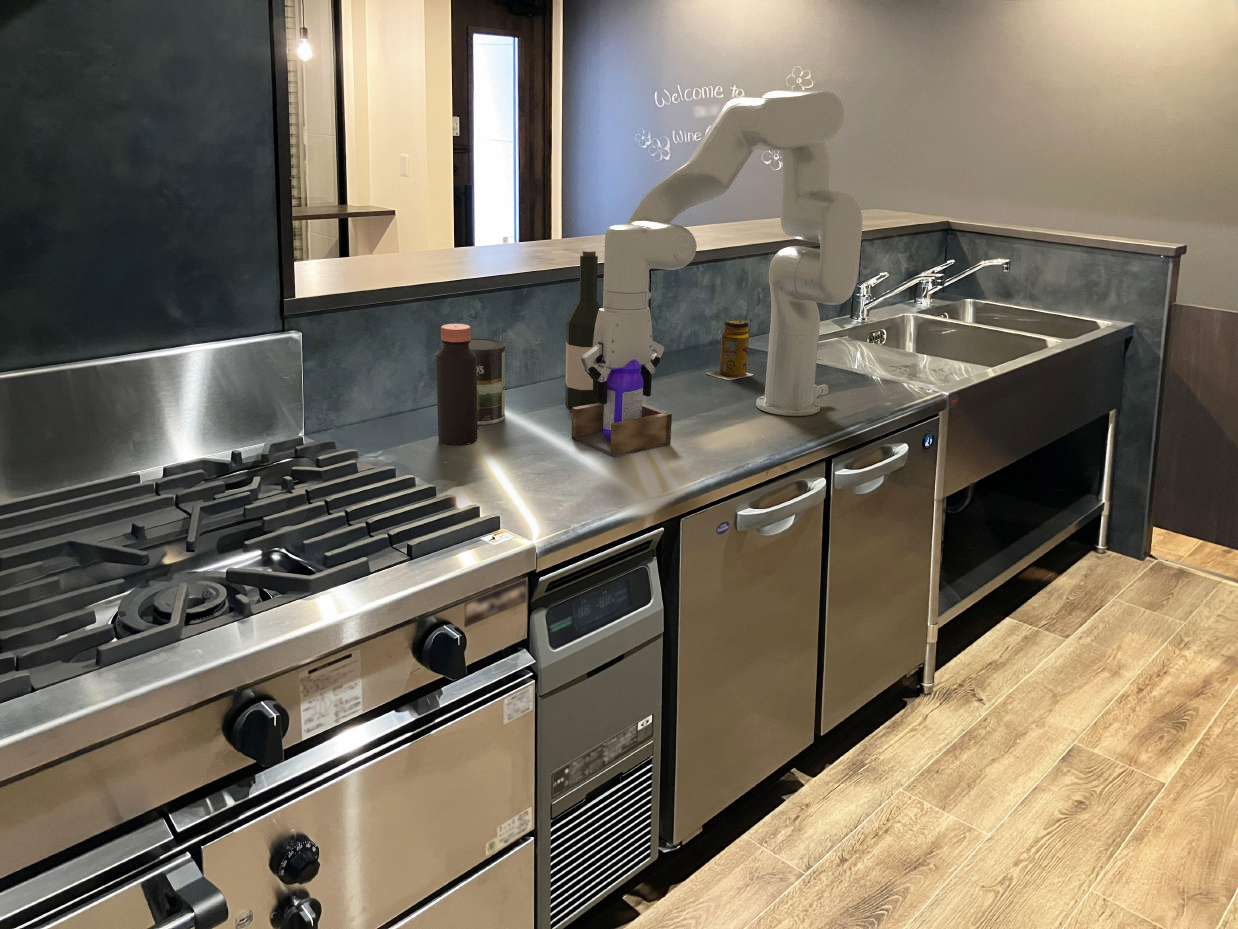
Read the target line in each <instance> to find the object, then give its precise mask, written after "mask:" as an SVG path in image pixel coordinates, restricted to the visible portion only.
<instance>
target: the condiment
mask: <svg viewBox="0 0 1238 929" xmlns="http://www.w3.org/2000/svg"><path fill="white" fill-rule="evenodd" d="M748 332H749V322H748V321H747V320H743V319H735V318H732V319H726V320H724V326H723V332H722V333H721V340H720V355H719V356H720V359H719V370H714V371H709V372H705V374H707V375H709V376H712V377H713V378H714V377H715V378H718V379H724V380H727V381H733V380H736V379H742V378H748V377H751V376H754V375H755V374H754V373H749V372H747V369H748V355H749V343H750V335H749V333H748Z"/></svg>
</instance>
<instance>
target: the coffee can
mask: <svg viewBox="0 0 1238 929" xmlns="http://www.w3.org/2000/svg"><path fill="white" fill-rule="evenodd" d="M469 348H470V349H471V350H472V351H473V352H474V353H475V355H476V357H477V424H478V426H485V425H493V424H497V423H498V424H499V423H500V422H502V421H504V420H505V418H506V413H505V410H506V408H505V406H506V403H505V402H506V400H505V398H506V388H505V385H506V384H505V382H506V362H505V360H506V359H505V358H506V352H505V351H506V343H505V342H504V341H502V340H498V339H495V338H489V337H488V338H486V337H471V339H470V343H469Z"/></svg>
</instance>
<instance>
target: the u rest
mask: <svg viewBox="0 0 1238 929" xmlns="http://www.w3.org/2000/svg"><path fill="white" fill-rule="evenodd" d="M603 418H604V405H603V404H600V403H595V404H590V405H584V406H579V407H573V408H572V409H571V439H573V440H575V441H577V442H580V443H581V444H584V445H587V446H589V447H590V448H594V449H595V450H598V451H600V452H603V453H605V454H606V455H608V456H611V457H613V458H617V457H622V456H624V455H630V454H635V453H639V452H643V451H648V450H652V449H656V448H661V447H666V446H670V445H671V444H672V442H671V439H672V438H671V437H672V422H673V421H672V420H673V419H672V418H673V413H671V412H668V411H665V410H662V409H659V408H657V407H654V406H651V405H648V404H645V403H644V402H642V417H641V418H636V419H631V420H626V421H621V422H616V423H611V440H609V439H606V438H605V437H604V434H603Z"/></svg>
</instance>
